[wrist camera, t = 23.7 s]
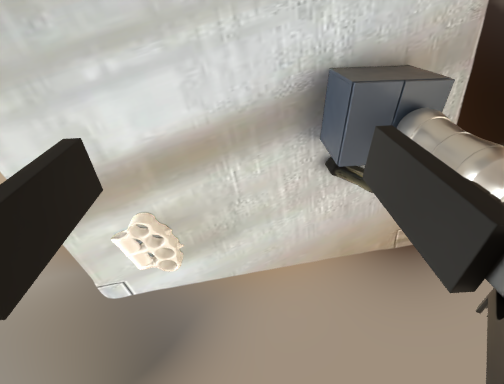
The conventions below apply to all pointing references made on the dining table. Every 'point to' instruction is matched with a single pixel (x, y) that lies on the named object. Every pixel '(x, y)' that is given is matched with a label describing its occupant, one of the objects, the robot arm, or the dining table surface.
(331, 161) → the olive green pouch
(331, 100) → the carton
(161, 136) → the dining table surface
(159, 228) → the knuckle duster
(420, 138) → the plastic bottle
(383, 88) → the flap
